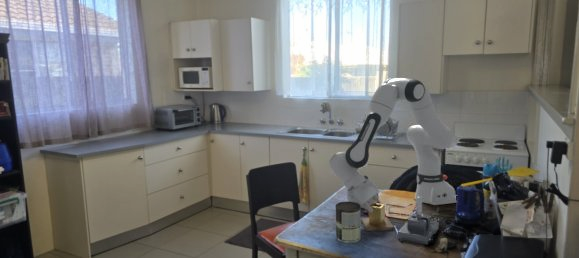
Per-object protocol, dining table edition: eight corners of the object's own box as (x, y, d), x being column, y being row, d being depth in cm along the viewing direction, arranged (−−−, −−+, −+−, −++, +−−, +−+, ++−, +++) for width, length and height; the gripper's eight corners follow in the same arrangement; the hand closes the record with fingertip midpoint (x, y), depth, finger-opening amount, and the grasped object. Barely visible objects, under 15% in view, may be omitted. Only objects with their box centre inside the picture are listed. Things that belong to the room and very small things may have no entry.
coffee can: (331, 239, 171) (330, 206, 169) (344, 230, 179) (344, 199, 176) (352, 245, 164) (352, 211, 162) (365, 236, 172) (365, 204, 170)
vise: (410, 223, 184) (411, 189, 182) (438, 228, 178) (439, 193, 175) (397, 238, 169) (398, 201, 167) (427, 244, 163) (428, 206, 160)
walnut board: (386, 219, 190) (386, 217, 190) (394, 229, 178) (394, 227, 178) (360, 220, 190) (360, 218, 189) (366, 231, 178) (366, 228, 178)
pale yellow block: (373, 219, 187) (373, 202, 186) (384, 221, 184) (385, 204, 183) (369, 223, 183) (368, 206, 182) (380, 225, 180) (380, 208, 179)
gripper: (350, 186, 176) (372, 211, 173) (368, 174, 193) (388, 197, 190) (341, 194, 179) (362, 219, 176) (359, 182, 196) (379, 205, 193)
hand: (376, 208), depth 183 cm, fingers open, 8 cm apart
